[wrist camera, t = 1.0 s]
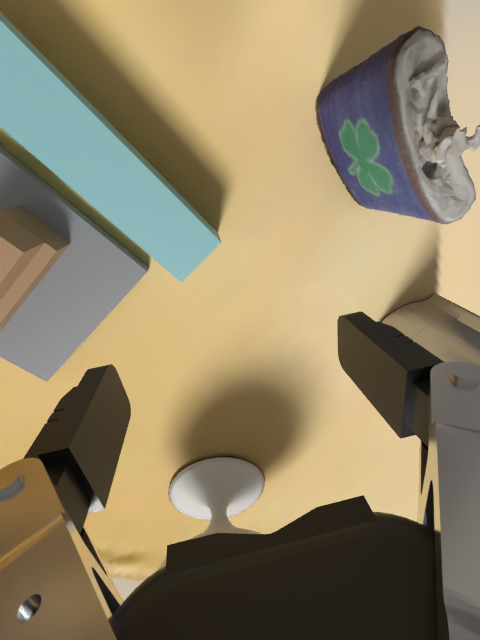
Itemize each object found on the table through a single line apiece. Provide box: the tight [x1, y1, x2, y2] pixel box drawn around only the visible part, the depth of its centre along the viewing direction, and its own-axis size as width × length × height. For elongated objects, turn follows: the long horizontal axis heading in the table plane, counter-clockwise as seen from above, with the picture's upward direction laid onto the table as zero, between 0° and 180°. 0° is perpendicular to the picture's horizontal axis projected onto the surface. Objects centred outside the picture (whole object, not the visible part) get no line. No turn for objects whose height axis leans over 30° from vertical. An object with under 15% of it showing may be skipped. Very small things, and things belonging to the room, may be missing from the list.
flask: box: [315, 26, 480, 224], centre depth 17 cm, size 9×3×11 cm, turn 34°
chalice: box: [158, 457, 264, 570], centre depth 31 cm, size 14×14×15 cm
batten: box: [0, 11, 221, 282], centre depth 18 cm, size 4×18×4 cm, turn 43°
